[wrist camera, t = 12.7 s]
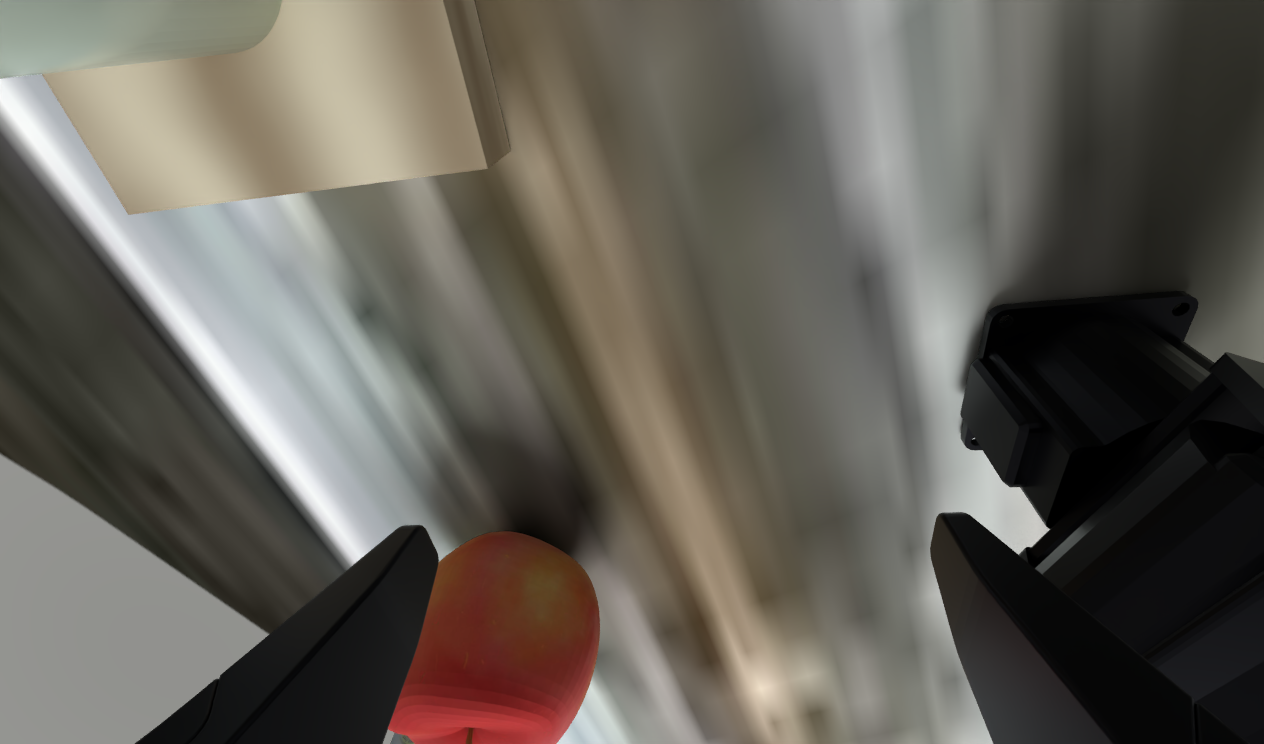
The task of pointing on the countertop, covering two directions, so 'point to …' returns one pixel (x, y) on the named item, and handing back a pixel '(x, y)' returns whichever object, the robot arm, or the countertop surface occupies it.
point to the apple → (501, 646)
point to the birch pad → (296, 107)
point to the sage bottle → (125, 32)
